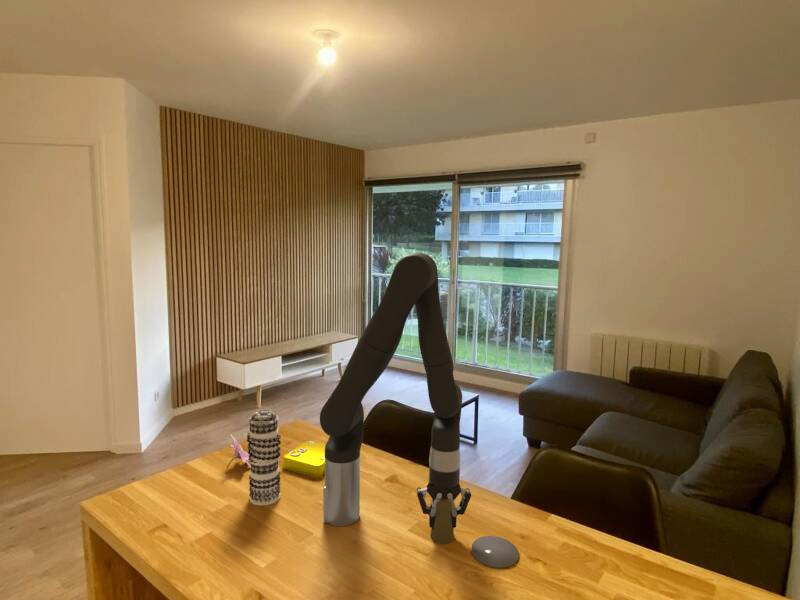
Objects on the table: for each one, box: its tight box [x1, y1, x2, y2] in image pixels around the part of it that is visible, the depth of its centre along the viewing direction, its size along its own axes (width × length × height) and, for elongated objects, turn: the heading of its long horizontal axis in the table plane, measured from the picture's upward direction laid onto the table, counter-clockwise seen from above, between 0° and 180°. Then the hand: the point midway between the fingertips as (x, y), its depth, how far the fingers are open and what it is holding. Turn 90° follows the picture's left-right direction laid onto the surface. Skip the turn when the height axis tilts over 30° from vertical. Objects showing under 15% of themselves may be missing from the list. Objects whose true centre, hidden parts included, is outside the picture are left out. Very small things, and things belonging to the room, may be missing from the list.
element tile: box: [282, 439, 326, 479], centre depth 157 cm, size 15×15×5 cm
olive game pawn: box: [429, 498, 455, 545], centre depth 119 cm, size 6×6×11 cm
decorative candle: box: [246, 409, 282, 507], centre depth 134 cm, size 9×9×25 cm
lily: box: [226, 434, 251, 469], centre depth 154 cm, size 12×12×10 cm
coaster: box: [471, 535, 519, 569], centre depth 114 cm, size 11×11×1 cm
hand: (442, 527), depth 120 cm, fingers closed on olive game pawn, 4 cm apart
